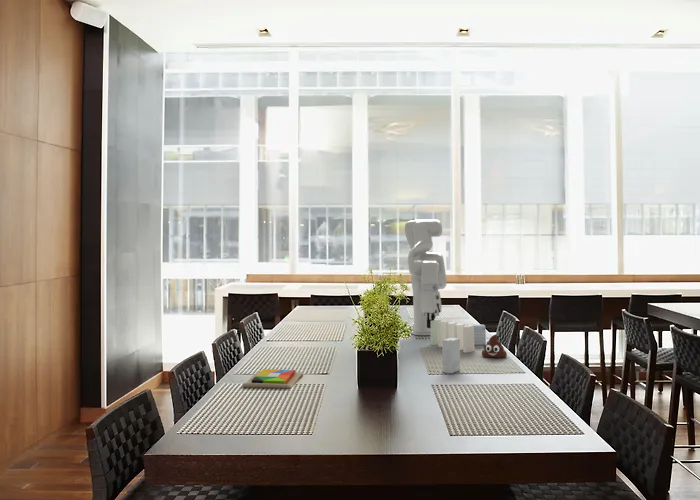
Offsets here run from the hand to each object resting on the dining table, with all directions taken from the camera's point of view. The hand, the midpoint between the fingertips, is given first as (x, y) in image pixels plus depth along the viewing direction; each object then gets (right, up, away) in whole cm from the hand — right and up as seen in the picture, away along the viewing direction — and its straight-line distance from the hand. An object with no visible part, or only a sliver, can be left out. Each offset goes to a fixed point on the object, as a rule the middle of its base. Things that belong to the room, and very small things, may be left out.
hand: (430, 327), depth 271 cm
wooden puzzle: (-64, -12, -61) cm, 89 cm away
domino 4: (+11, -8, -15) cm, 20 cm away
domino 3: (+8, -8, -11) cm, 15 cm away
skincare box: (0, -9, -53) cm, 54 cm away
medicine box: (+20, -7, -4) cm, 22 cm away
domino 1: (+2, -7, -2) cm, 8 cm away
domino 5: (+14, -8, -19) cm, 25 cm away
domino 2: (+5, -7, -6) cm, 11 cm away
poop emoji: (+22, -8, -30) cm, 38 cm away
